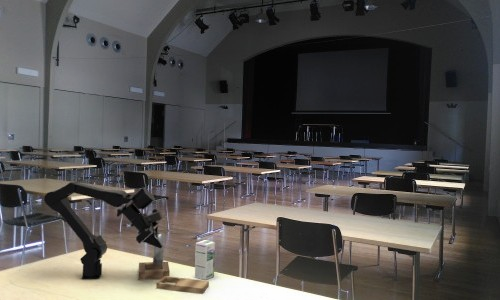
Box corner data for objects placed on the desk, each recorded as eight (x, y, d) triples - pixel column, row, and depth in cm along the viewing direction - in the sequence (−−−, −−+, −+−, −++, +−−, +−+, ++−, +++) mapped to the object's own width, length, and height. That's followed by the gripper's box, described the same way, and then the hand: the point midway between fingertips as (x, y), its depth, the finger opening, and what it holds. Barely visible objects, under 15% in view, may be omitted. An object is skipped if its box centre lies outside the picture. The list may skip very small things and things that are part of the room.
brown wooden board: (156, 288, 157) (156, 283, 157) (164, 281, 165) (164, 275, 165) (202, 293, 154) (202, 288, 153) (208, 286, 161) (208, 281, 161)
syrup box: (205, 280, 167) (207, 244, 167) (194, 277, 170) (195, 241, 170) (214, 276, 172) (215, 241, 171) (202, 273, 175) (204, 239, 175)
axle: (154, 265, 164) (156, 235, 163) (151, 262, 167) (153, 232, 167) (164, 264, 166) (166, 234, 165) (161, 261, 169) (163, 232, 169)
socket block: (138, 279, 165) (138, 272, 165) (138, 269, 177) (138, 262, 176) (169, 278, 168) (169, 271, 168) (167, 268, 179) (167, 261, 179)
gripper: (146, 207, 156) (174, 238, 157) (155, 199, 175) (180, 227, 176) (123, 227, 156) (152, 258, 157) (135, 217, 174) (160, 244, 176)
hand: (162, 246), depth 166 cm, fingers closed on axle, 4 cm apart
